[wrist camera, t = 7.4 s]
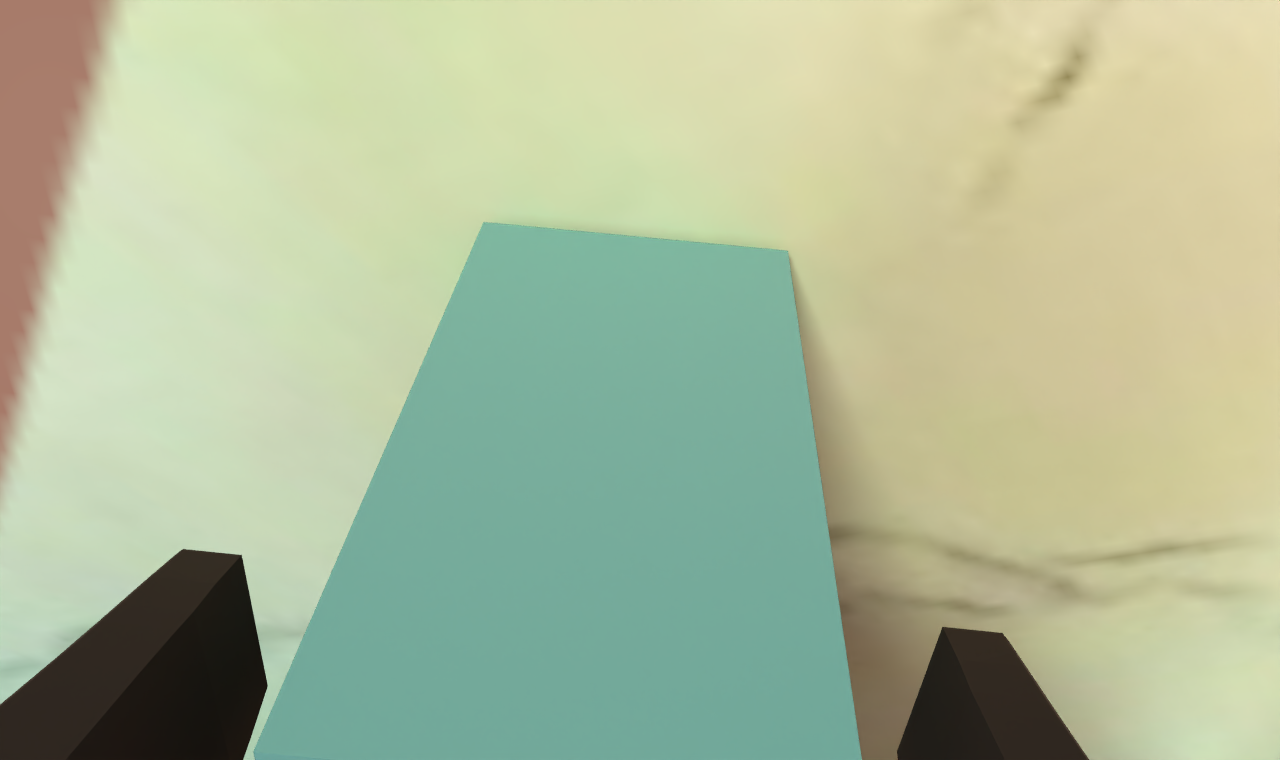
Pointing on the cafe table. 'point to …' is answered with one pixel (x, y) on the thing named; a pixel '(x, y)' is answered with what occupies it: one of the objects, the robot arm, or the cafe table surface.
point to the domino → (588, 526)
